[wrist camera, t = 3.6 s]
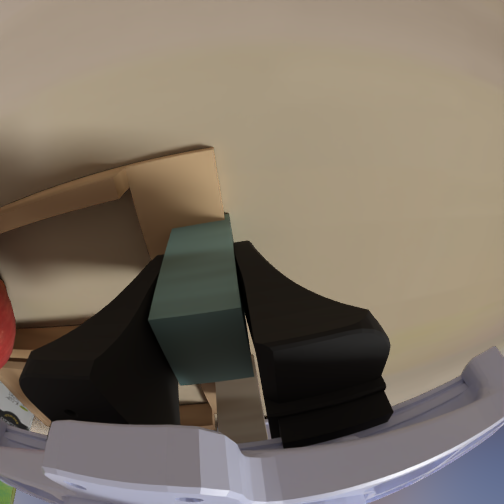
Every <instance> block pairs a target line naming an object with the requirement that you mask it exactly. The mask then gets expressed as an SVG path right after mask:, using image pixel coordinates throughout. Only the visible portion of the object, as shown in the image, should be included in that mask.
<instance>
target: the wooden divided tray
mask: <svg viewBox="0 0 504 504" xmlns="http://www.w3.org/2000/svg"><path fill="white" fill-rule="evenodd" d="M129 187H130V191H131V195H132V199H133V202H134V206H135V210H136V213H137V217H138V220H139V224H140V227H141V230H142V234H143V237H144V240H145V243H146V246H147V250H148V253H149V256H150V259H151V261H152V260H153V259H154V258H155V257H156V256H157V255H162V254H164V258H163V262H162V265H161V269H160V273H159V277H158V281H157V284H156V288H155V292H154V297H153V301H152V305H151V309H150V313H149V318H148V321H149V323H150V326H151V328H152V330H153V332H154V334H155V336H156V338H157V340H158V343H159V345H160V347H161V349H162V351H163V353H164V355H165V357H166V359H167V361H168V363H169V364H170V366H171V368H172V370H173V372H174V374H175V376H176V378H177V380H178V381H179V383H180V385H192V384H202V383H212V382H220V381H228V380H236V379H243V378H249V377H254V371H253V365H252V358H251V352H250V345H249V339H248V332H247V326H246V319H245V312H244V307H243V301H242V296H241V290H240V284H239V279H238V273H237V267H236V261H235V256H234V248H233V243H234V242H233V235H232V229H231V223H230V217H229V213H228V214H224V210H223V204H222V198H221V192H220V186H219V180H218V174H217V167H216V161H215V155H214V148H213V147H211V148H205V149H199V150H194V151H188V152H183V153H178V154H173V155H168V156H164V157H159V158H155V159H150V160H146V161H142V162H137V163H133V164H129V165H125V166H122V167H118V168H114V169H110V170H107V171H103V172H100V173H96V174H93V175H89V176H86V177H83V178H80V179H76V180H73V181H70V182H67V183H64V184H61V185H58V186H55V187H52V188H49V189H47V190H44V191H41V192H38V193H36V194H33V195H30V196H28V197H25V198H23V199H20V200H18V201H15V202H13V203H10V204H8V205H5V206H3V207H1V208H0V234H1V233H4V232H6V231H9V230H12V229H15V228H18V227H21V226H24V225H27V224H30V223H34V222H37V221H40V220H43V219H47V218H50V217H53V216H57V215H60V214H63V213H67V212H71V211H74V210H78V209H81V208H85V207H89V206H93V205H97V204H101V203H105V202H109V201H113V200H117V199H119V198H120V197H121V196H122V195H123V194H124V193H125V192H126V190H127V189H128V188H129ZM78 326H80V325H76V326H62V327H46V328H26V329H16V334H15V341H14V346H13V350H12V354H11V356H10V357H11V358H28V357H29V355H30V352H31V351H33V350H35V349H37V348H40V347H42V346H44V345H46V344H48V343H50V342H52V341H54V340H56V339H58V338H60V337H62V336H63V335H65V334H67V333H69V332H70V331H72V330H74V329H75V328H77V327H78Z"/></svg>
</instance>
